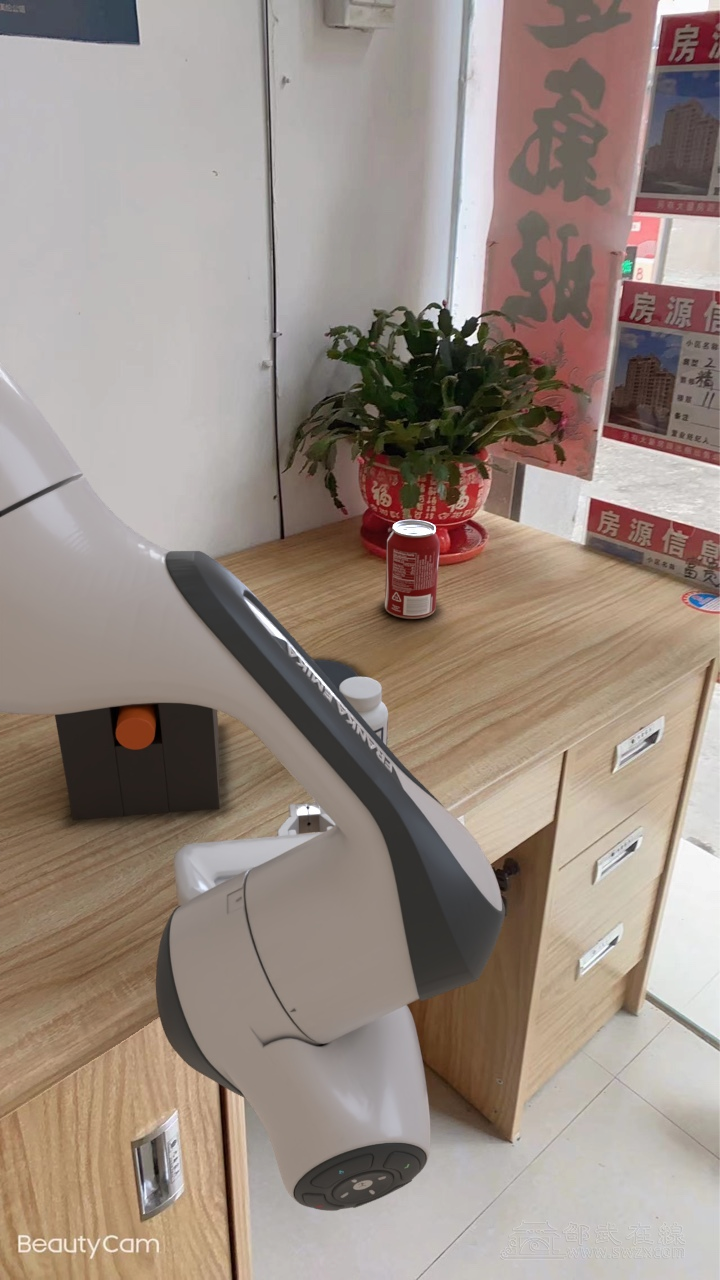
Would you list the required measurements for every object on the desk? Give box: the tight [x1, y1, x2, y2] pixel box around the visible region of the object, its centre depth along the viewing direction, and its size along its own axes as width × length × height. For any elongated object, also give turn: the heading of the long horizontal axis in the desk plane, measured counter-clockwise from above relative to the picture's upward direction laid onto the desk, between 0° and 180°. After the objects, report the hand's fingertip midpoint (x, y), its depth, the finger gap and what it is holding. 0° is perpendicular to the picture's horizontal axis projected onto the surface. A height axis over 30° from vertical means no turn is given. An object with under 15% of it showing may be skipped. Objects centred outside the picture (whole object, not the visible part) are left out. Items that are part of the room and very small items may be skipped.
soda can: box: [384, 519, 441, 620], centre depth 115 cm, size 7×7×12 cm
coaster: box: [313, 659, 359, 690], centre depth 101 cm, size 9×9×1 cm
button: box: [116, 704, 157, 750], centre depth 75 cm, size 3×3×3 cm
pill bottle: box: [339, 676, 389, 747], centre depth 84 cm, size 5×5×10 cm
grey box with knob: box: [54, 703, 221, 821], centre depth 81 cm, size 13×13×18 cm
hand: (306, 809), depth 70 cm, fingers closed
